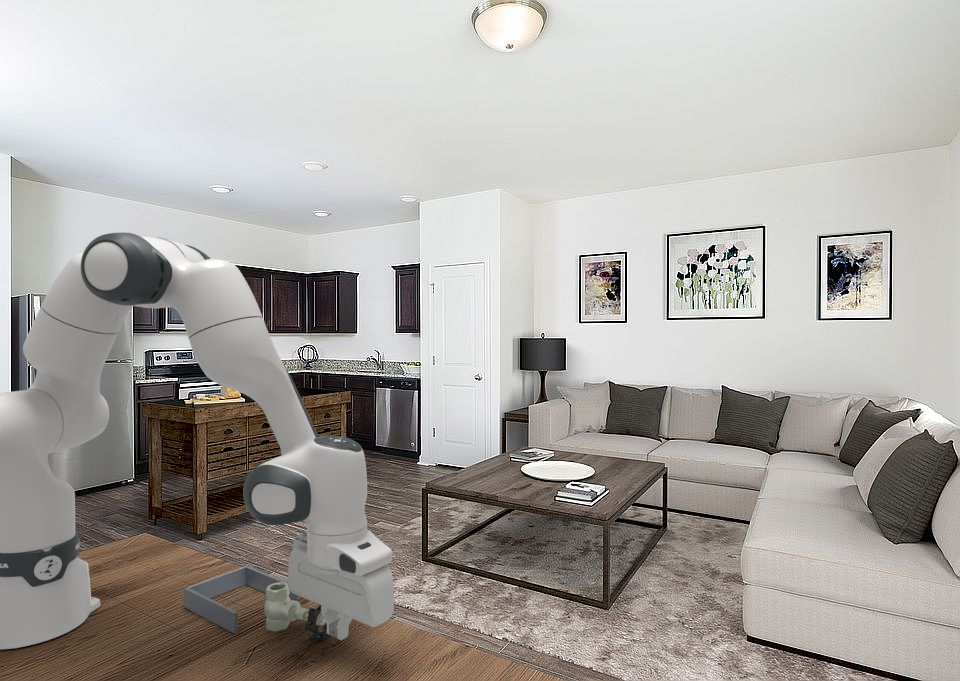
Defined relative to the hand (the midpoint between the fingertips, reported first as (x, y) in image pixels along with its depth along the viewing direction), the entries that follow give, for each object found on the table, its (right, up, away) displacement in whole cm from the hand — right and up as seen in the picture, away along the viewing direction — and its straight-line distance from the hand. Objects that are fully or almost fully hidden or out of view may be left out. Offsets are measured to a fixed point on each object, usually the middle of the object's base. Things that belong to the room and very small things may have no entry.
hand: (337, 635), depth 88 cm
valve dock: (-20, -2, +15) cm, 25 cm away
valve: (-8, -3, +6) cm, 11 cm away
